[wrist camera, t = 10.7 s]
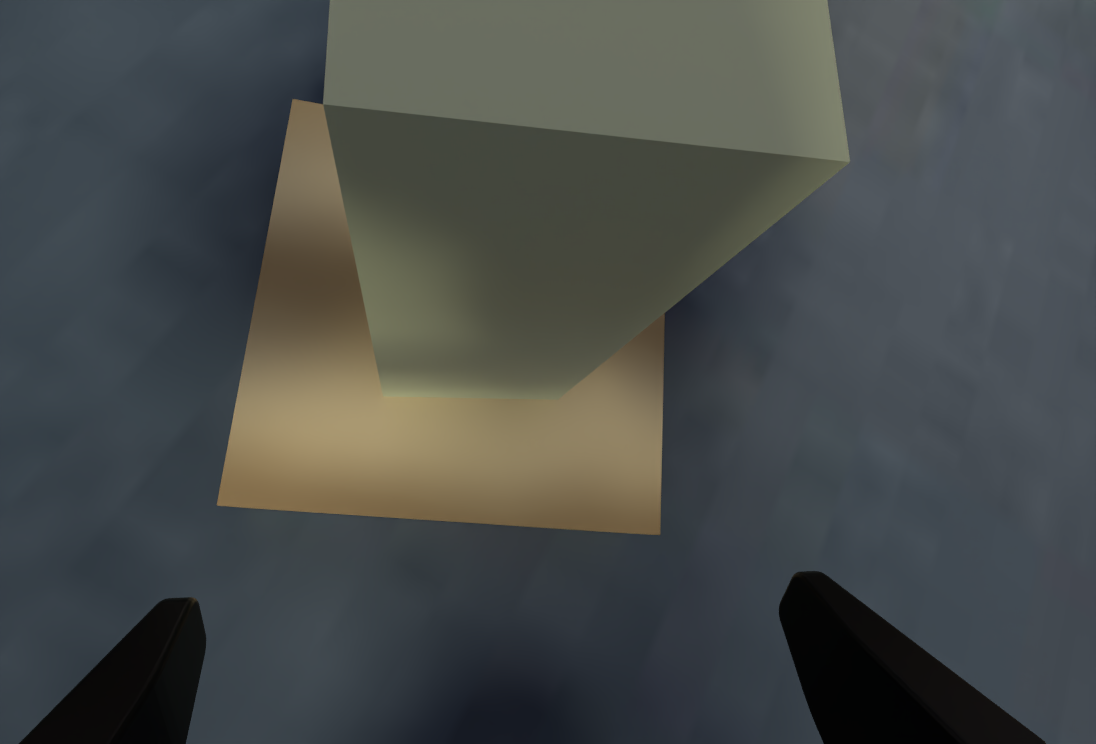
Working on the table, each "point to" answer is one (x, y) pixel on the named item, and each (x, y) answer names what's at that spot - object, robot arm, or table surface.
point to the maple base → (417, 399)
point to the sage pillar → (562, 170)
